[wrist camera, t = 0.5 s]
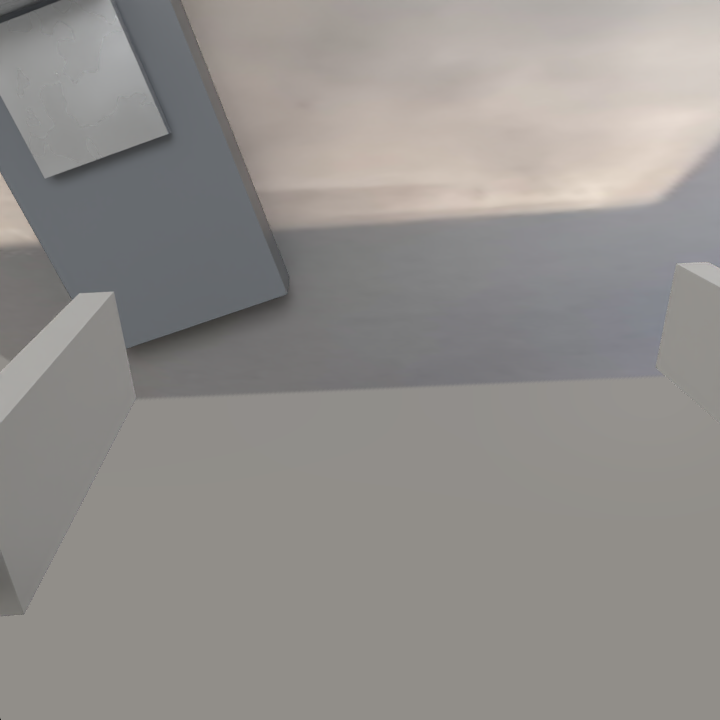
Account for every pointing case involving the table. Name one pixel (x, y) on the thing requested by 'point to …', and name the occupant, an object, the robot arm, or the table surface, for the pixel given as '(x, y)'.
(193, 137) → the socket block
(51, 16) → the shutter
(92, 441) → the robot arm
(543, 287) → the table surface
